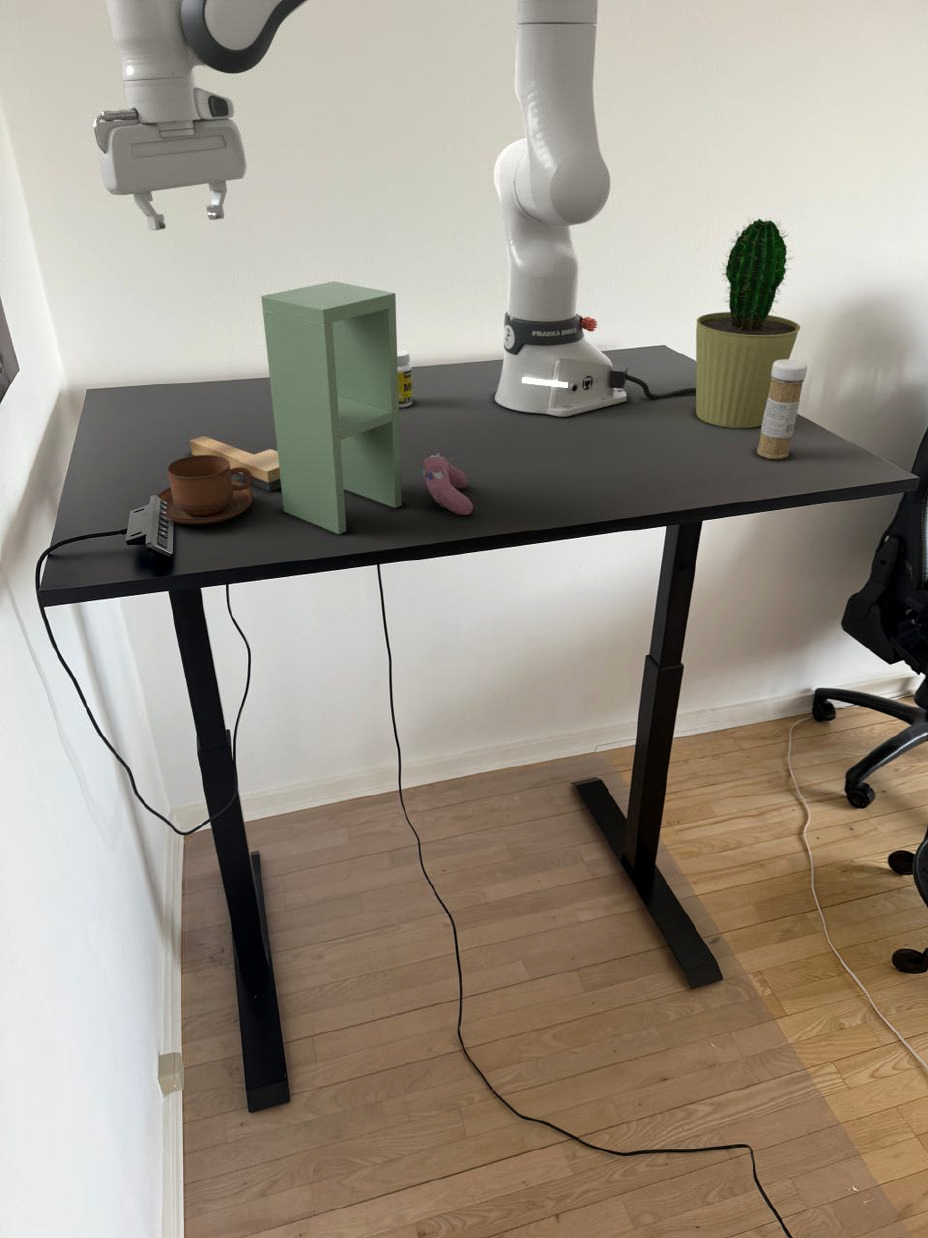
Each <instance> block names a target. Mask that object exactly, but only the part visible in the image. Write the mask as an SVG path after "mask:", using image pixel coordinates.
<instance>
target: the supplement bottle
mask: <svg viewBox="0 0 928 1238" xmlns="http://www.w3.org/2000/svg"><path fill="white" fill-rule="evenodd" d="M410 360H411V357H410V352H409V351H407V350H403V349H397V364H398V398H399V408H407V407H410V406H411V405H412V404H413V372H412V371H413V367H412V365H411V363H410Z"/></svg>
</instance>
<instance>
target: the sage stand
mask: <svg viewBox="0 0 928 1238" xmlns="http://www.w3.org/2000/svg"><path fill="white" fill-rule="evenodd" d="M396 301H397V299H396V293H395V292H391V291H387V290H380V289H375V288H371V287H365V286H360V285H356V284H355V285H354V284H350V283H345V282H340V281H328V282H323V283H319V284H313V285H310V286H309V285H308V286H304V287H299V288H295V289H289V290H286V291H285V290H283V291H279V292H274V293H270V294H264V295H261V307H262V317H263V326H264V335H265V345H266V354H267V355H266V356H267V364H268V373H269V383H270V392H271V393H270V395H271V403H272V412H273V420H274V421H273V422H274V430H275V440H276V441H275V442H276V451H277V452H278V460H279V469H280V479H281V488H280V489H281V495H282V496H281V497H282V507H283V512H284V513H287V514H288V515H291V516H293V517H296V518H299V519H300V520H303V521H306V522H307V523H310V524H313V525H316V526H318V527H321V528H323V529H324V530H327V531H330V532H333V533H334V534H337V535H341V534H344V533H345V532H347V521H346V519H347V518H346V505H345V491H348V492H350V493H353V494H356V495H359V496H361V497H364V498H366V499H369V500H372V501H375V502H377V503H380V504H383V505H385V506H389V507H391V508H394V509H398V508H400V507H401V506H402V505H403V504H402V503H403V502H402V501H403V499H402V469H401V465H402V464H401V438H400V437H401V435H400V433H401V431H400V407H399V398H398V364H397V350H398V335H397V302H396Z"/></svg>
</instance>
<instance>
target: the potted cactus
mask: <svg viewBox="0 0 928 1238" xmlns="http://www.w3.org/2000/svg"><path fill="white" fill-rule="evenodd" d="M747 221H749V222H748V226H747V225H745V224H743V226H742V231H741V232H740V231H736V232H735V237H736V238H734V239H733V238H730V241H731V243H733V244H734V246H731V247H730V248H729V255H728V253H725V257H726V258H728V259H726V261H727V262H726V263H723V264H722V266H723V267H724V269H723V276H724V278H725V282H727V281H728V283H729V286H727V287H726V292H727V294H729V296H725V297H722V299H726V298H729V299H728V300H727V302H726V301H723V304H724V303H726V304H727V305H725V306H728V307H729V310H727V311H721V312H713V313H707V314H703V315H700V316H699V317H697V318H696V326H695V327H696V329H695V337H696V339H695V349H696V350H695V354H696V355H695V358H696V359H695V360H696V361H695V388H696V393H695V398H696V400H695V412H696V417H697V418H698V419H700V420H701V421H703V422H704V423H705V422H706V423H708V424H711V425H714V426H719V427H725V428H733V429H749V428H757V427H762V423H763V418H764V412H765V409H766V404H767V399H768V394H769V389H770V384H771V380H772V378H771V377H772V376H771V372H772V367H773V363H774V362H775V361H777V360H785V359H788V360H790V358H791V354H792V352H793V349H794V346H795V342H797V341H796V340H797V337H798V334H799V331H800V330H801V326H800V324H799V323H797V322H796V321H793V320H792V319H788V318H785V317H781V316H777V315H771V314H770V312H771V313H772V312H773V313H775V314H777V312H775V311H774V310H773V308H772V307H773V304H774V303H776V304H778V302H779V300H777V299H776V298H778V297H776V294H777V295H780V292H782V291H781V288H780V287H779V286H780V285H782V286H786V285H787V284H786V283H784V281H786V278H787V276H786V273H787V270H791V268H788V267H787V268H786V266H787V260H788V261H791V260H794V259H795V258H793V257H795V256H794V255H793V256H791V257H788V256H787V254H788V250H787V248H788V247H789V246H788V247H787V245H786V243H785V241H784V239H785V238H786V237H787V236H789V233H788V234H785V233H786V229H783V228H781V225H782V224H780V223H781V221H779V223H778V221H777V220H775V221H772V220H770V219H767V218H765V220H763V219H761V218H758V219H756V220H754V219H752V220H751V219H749V218H747ZM780 228H781V229H780ZM779 229H780V230H779ZM782 231H783V232H782ZM784 234H785V235H784ZM790 251H792V249H791V250H789V252H790ZM719 270H722V268H721V269H719ZM785 276H786V277H785ZM721 282H723V280H722V281H721ZM774 305H775V304H774Z"/></svg>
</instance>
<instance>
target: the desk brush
mask: <svg viewBox="0 0 928 1238" xmlns="http://www.w3.org/2000/svg"><path fill="white" fill-rule="evenodd" d="M189 442H190V447H191V448H190V449H191V456H196V455H214V456H219V457H223V458H225V459H227V460H228V461H229V463H230V469H232V468H236V467H243V468H246V469H248V470H249V471H250V472H251V474H252V477H253V480H252V483H251V485H253V486H255V487H258V488H260V489H263V490H264V491H268V492H270V493H271V492H273V491H275V490H278V489H282V488H281V479H280V469H279V460H278V450H274V449H271V448H269V449H266V450H264V451H260V452H258V453H255V454H253V453H250V452H248V451H245V450H242V449H239V448H237V447H234V446H232V445H229V444H227V443H223V442H221V441H218V440H216V439H213V438H210V437H207V436H205V435H202V436H199V437H195V438H192V439H190V441H189ZM238 474H240V475H242V480H243V482H245V483H246V482H247V476H246V474H244V473H242V472H239V473H238Z"/></svg>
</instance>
